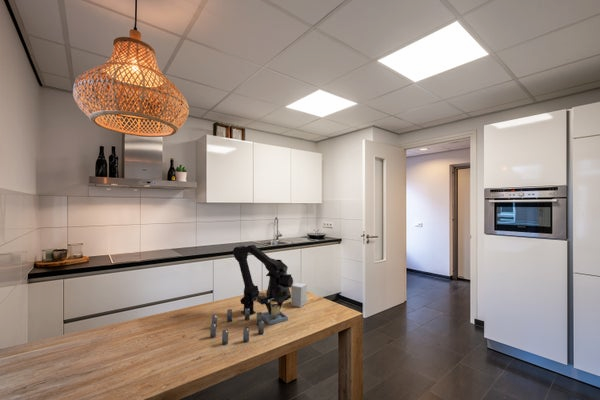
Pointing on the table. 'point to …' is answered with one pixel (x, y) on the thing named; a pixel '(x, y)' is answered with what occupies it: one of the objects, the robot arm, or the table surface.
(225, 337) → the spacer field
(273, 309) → the brass nut
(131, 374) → the table surface
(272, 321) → the tray
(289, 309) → the table surface
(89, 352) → the table surface
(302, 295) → the supplement box
